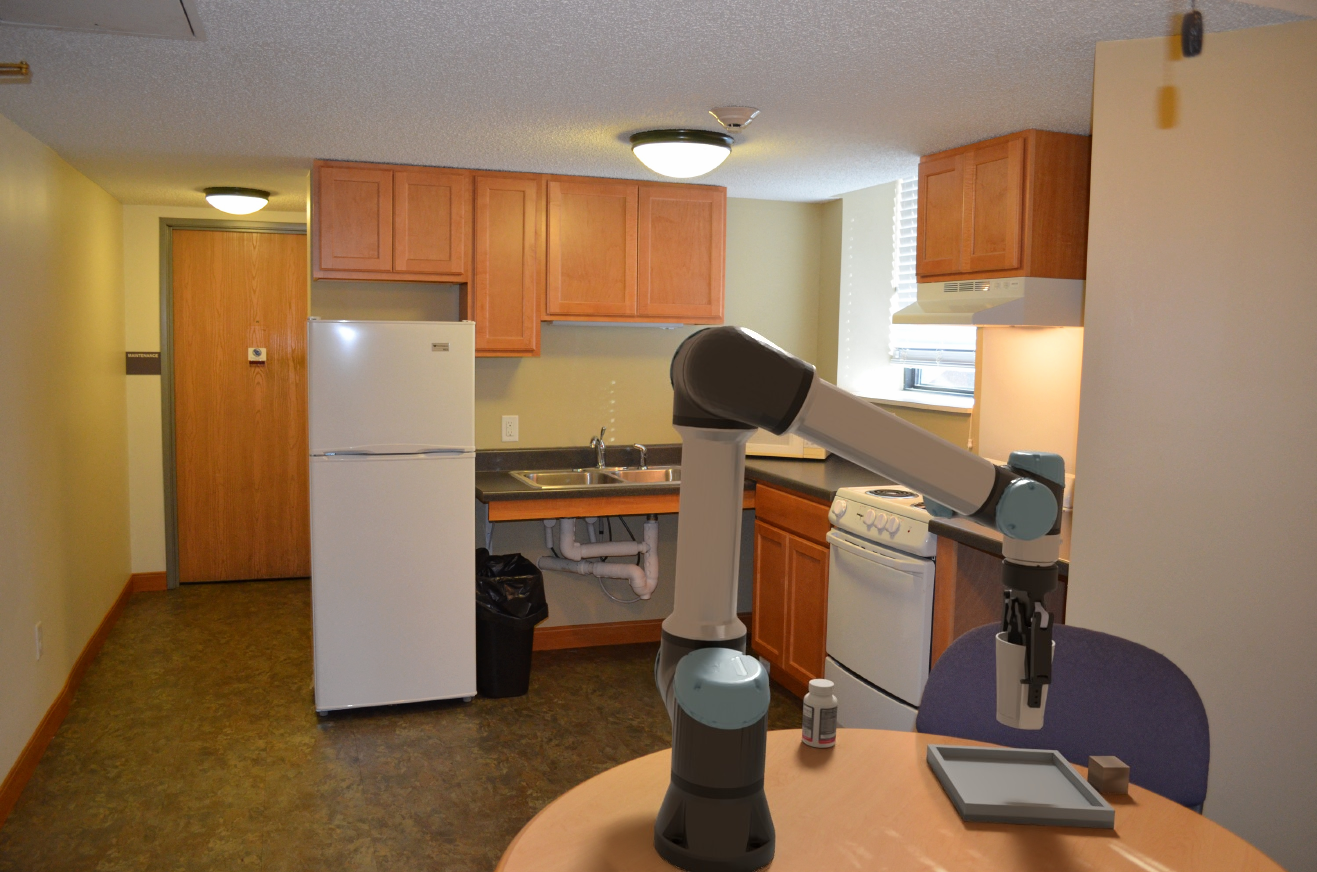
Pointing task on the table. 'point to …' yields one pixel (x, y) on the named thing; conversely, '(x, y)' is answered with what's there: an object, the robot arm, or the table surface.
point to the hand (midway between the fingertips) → (1019, 716)
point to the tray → (1017, 787)
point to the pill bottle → (820, 714)
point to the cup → (1012, 680)
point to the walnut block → (1108, 774)
